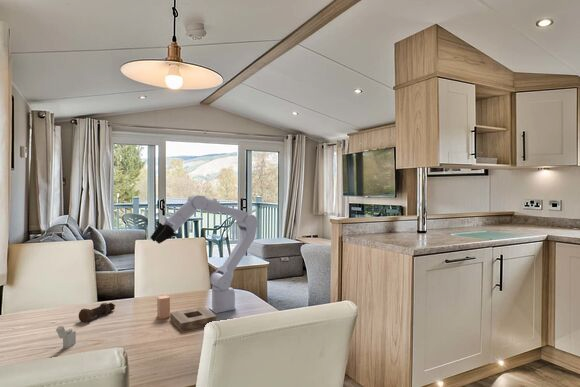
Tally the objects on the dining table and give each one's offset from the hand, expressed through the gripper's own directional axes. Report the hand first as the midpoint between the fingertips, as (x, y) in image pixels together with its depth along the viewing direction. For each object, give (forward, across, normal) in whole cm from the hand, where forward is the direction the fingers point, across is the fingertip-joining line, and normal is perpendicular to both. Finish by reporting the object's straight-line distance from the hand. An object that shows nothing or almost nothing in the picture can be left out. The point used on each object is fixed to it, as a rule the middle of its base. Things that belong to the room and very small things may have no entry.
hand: (154, 240), depth 145 cm
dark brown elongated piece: (+35, -20, +13) cm, 42 cm away
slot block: (+12, +8, +33) cm, 36 cm away
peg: (+18, -5, +28) cm, 33 cm away
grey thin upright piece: (+44, +7, +5) cm, 45 cm away
